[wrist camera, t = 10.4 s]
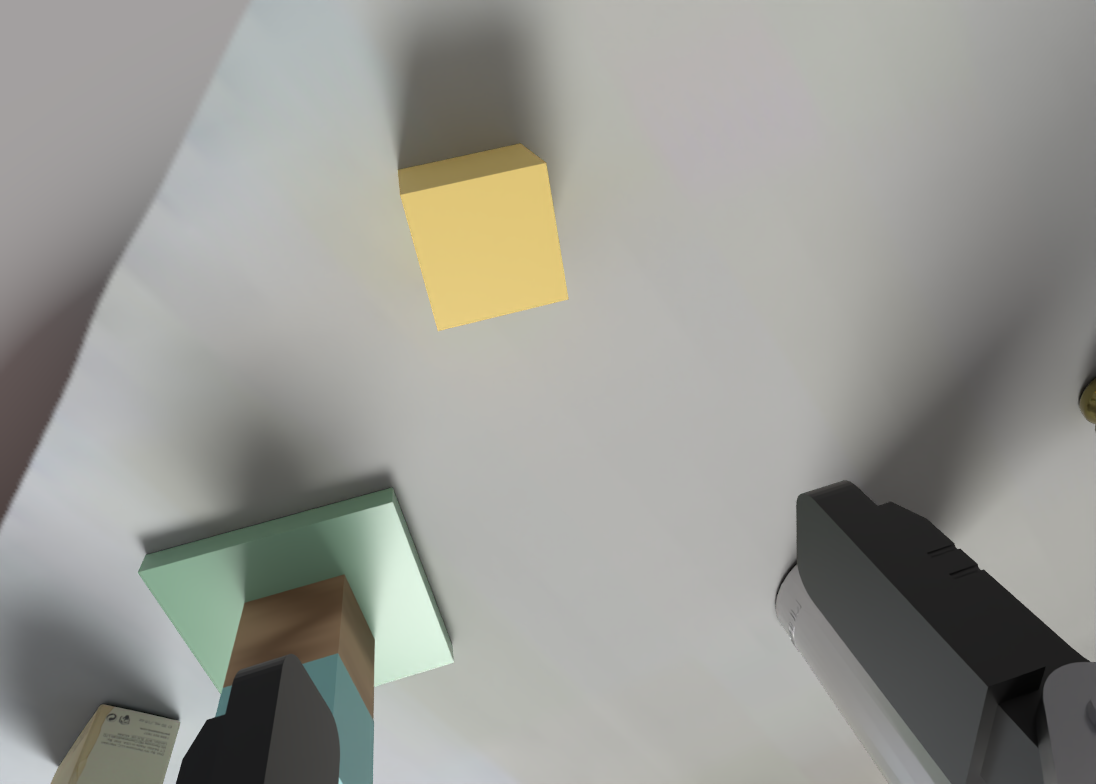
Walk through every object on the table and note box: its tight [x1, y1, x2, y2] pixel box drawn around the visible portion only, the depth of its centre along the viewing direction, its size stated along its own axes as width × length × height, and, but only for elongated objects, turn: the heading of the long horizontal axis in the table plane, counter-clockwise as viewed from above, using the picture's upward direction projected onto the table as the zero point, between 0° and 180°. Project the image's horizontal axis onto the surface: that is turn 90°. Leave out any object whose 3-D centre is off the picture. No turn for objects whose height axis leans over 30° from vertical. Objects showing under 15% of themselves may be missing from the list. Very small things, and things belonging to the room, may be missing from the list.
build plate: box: [138, 487, 454, 694], centre depth 35 cm, size 12×12×1 cm
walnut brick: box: [223, 574, 375, 719], centre depth 32 cm, size 5×5×5 cm
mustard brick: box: [398, 143, 568, 331], centre depth 25 cm, size 5×5×5 cm
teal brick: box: [215, 653, 374, 784], centre depth 28 cm, size 5×5×5 cm
